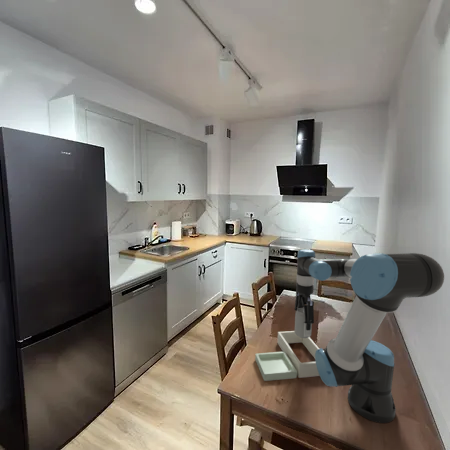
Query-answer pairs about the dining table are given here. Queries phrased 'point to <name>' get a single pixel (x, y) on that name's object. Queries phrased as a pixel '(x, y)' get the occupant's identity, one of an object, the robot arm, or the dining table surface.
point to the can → (300, 323)
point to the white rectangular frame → (302, 368)
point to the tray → (275, 366)
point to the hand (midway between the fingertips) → (302, 331)
